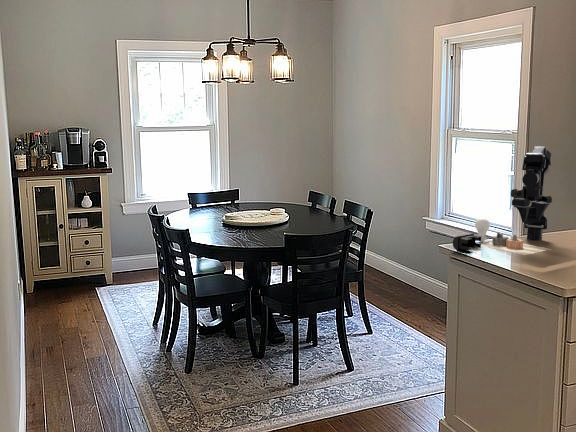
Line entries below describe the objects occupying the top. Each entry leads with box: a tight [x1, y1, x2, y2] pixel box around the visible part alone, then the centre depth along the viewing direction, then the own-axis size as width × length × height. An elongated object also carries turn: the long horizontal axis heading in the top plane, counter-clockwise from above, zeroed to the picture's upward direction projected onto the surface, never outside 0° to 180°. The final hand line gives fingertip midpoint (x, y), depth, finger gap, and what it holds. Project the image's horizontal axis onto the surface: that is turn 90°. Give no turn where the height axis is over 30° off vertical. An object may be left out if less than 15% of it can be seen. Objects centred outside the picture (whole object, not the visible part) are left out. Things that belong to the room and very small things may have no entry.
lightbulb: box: [474, 217, 491, 243], centre depth 281 cm, size 6×6×11 cm
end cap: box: [452, 232, 482, 255], centre depth 265 cm, size 10×7×7 cm
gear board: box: [480, 232, 552, 256], centre depth 265 cm, size 17×24×7 cm
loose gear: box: [506, 238, 524, 249], centre depth 265 cm, size 6×6×3 cm
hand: (530, 221), depth 265 cm, fingers open, 9 cm apart
